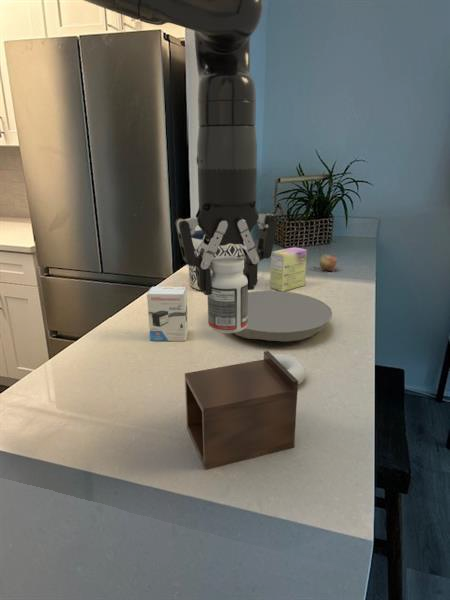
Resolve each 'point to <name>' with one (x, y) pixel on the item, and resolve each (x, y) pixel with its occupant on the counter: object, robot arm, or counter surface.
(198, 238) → the planter
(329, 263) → the apple
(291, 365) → the donut
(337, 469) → the counter surface
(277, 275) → the box
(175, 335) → the ink box
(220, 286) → the pill bottle
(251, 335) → the flat disc
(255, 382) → the open wooden cube
